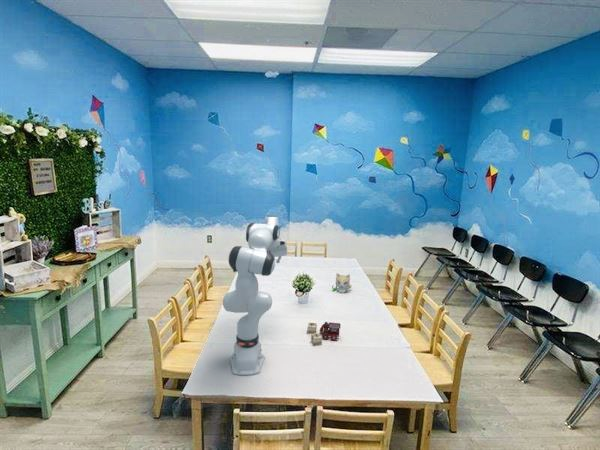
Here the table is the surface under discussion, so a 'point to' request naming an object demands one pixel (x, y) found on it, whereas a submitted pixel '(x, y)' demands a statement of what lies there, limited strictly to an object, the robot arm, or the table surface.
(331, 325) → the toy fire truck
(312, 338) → the maple cube one
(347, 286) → the kitten
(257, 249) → the robot arm
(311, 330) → the maple cube seven
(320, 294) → the table surface
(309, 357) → the table surface
